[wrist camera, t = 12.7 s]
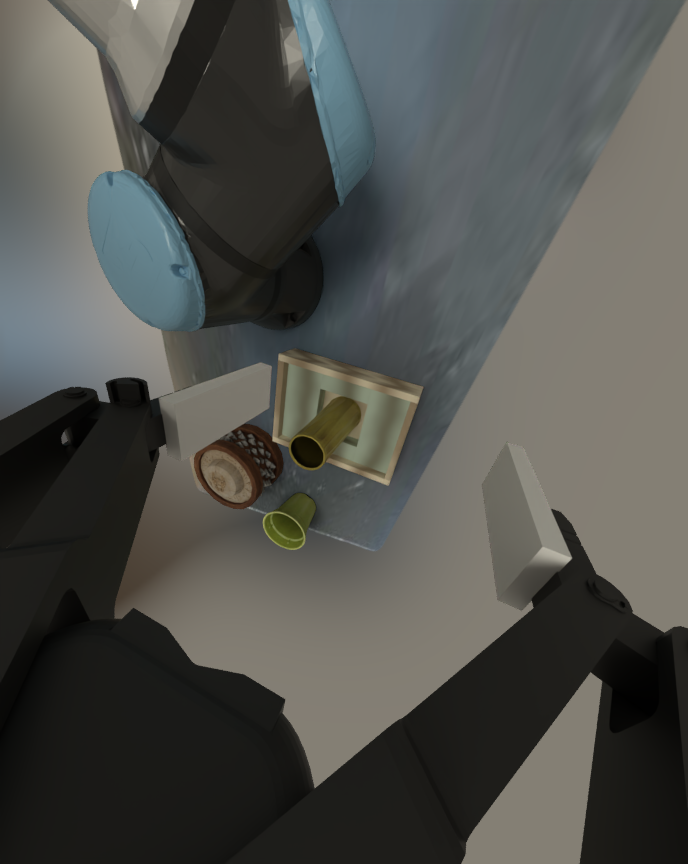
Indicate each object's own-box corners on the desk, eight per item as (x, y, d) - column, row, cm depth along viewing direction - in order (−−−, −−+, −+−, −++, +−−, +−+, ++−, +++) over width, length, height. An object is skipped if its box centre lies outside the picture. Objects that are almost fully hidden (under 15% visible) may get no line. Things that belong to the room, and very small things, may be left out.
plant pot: (279, 486, 62) (255, 512, 55) (315, 485, 58) (295, 512, 51) (293, 520, 65) (272, 548, 58) (328, 520, 61) (311, 551, 54)
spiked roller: (250, 460, 46) (255, 525, 53) (284, 432, 55) (284, 490, 62) (180, 437, 50) (193, 501, 57) (223, 415, 59) (230, 472, 66)
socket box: (286, 429, 55) (272, 440, 50) (294, 348, 47) (278, 353, 42) (394, 469, 50) (388, 485, 46) (423, 386, 42) (420, 397, 38)
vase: (341, 388, 46) (300, 421, 34) (368, 413, 46) (337, 455, 34) (321, 412, 49) (277, 450, 37) (347, 435, 49) (311, 481, 37)
